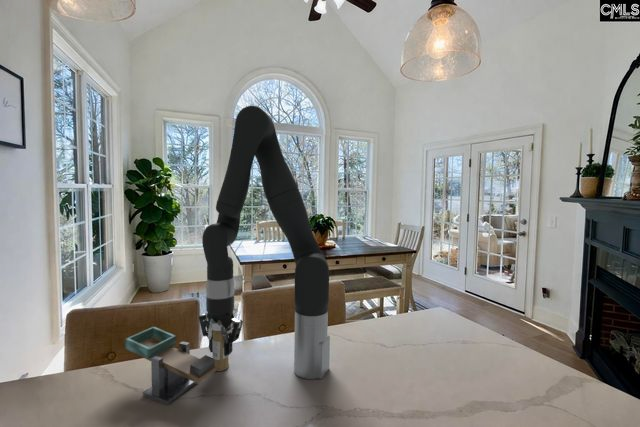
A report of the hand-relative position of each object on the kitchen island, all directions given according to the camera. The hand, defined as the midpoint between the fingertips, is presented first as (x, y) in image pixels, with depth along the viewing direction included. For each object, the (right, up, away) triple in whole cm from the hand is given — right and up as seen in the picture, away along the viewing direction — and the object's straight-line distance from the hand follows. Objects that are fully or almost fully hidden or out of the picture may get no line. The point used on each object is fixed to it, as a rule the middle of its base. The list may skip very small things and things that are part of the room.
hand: (220, 352), depth 91 cm
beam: (-9, +3, -11) cm, 14 cm away
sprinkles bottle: (0, -4, 0) cm, 4 cm away
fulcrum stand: (-9, -5, -10) cm, 14 cm away
